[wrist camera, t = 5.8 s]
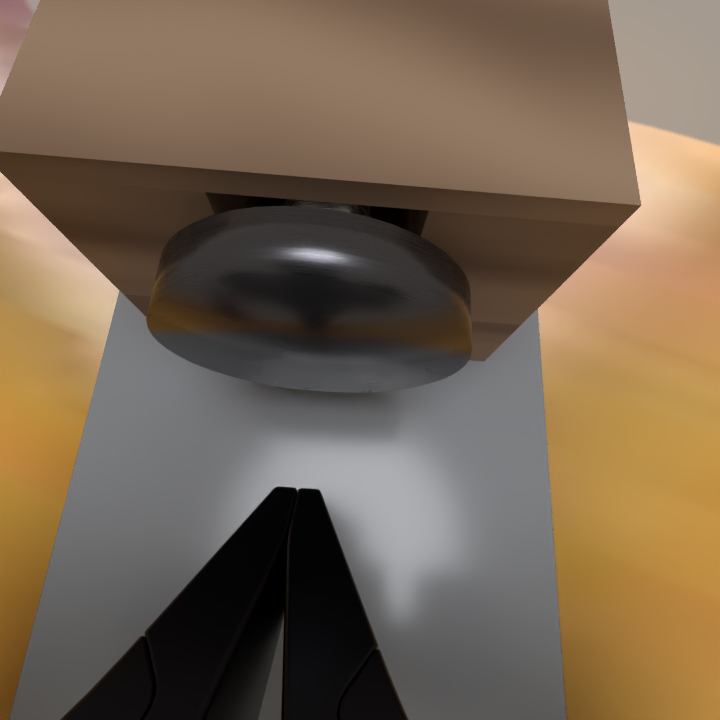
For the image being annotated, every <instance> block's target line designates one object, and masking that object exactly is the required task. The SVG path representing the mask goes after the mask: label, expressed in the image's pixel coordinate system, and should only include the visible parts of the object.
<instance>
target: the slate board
mask: <svg viewBox="0 0 720 720" xmlns="http://www.w3.org/2000/svg"><path fill="white" fill-rule="evenodd" d="M278 486H281V487H294V488H296V489H297V491H298V490H299V489H300V488H311V489H319V490H320V491H321V493H322V496H323V499H324V501H325V504H326V507H327V509H328V512H329V515H330V517H331V520H332V523H333V525H334V528H335V531H336V533H337V536H338V539H339V541H340V544H341V547H342V549H343V552H344V555H345V557H346V560H347V563H348V565H349V568H350V571H351V573H352V576H353V579H354V581H355V584H356V587H357V589H358V592H359V595H360V597H361V600H362V603H363V605H364V608H365V611H366V613H367V616H368V619H369V621H370V624H371V627H372V629H373V632H374V635H375V637H376V640H377V643H378V649H380V650H381V653H382V655H383V658H384V661H385V663H386V666H387V669H388V671H389V674H390V676H391V679H392V681H393V684H394V686H395V689H396V691H397V693H398V696H399V698H400V701H401V703H402V706H403V708H404V710H405V712H406V715H407V717H408V719H409V720H566V707H565V693H564V679H563V664H562V650H561V636H560V622H559V607H558V593H557V579H556V565H555V550H554V536H553V522H552V508H551V493H550V479H549V465H548V451H547V437H546V422H545V408H544V394H543V380H542V365H541V351H540V337H539V323H538V309H537V310H536V311H535V312H534V313H533V314H532V315H531V316H530V317H529V318H528V319H527V320H526V321H525V322H524V323H523V324H522V325H521V326H520V327H519V328H518V329H517V330H516V331H515V332H514V333H513V334H512V335H511V336H510V337H509V338H508V339H507V340H506V341H505V342H503V343H502V344H501V345H500V346H499V347H498V348H497V349H496V350H495V351H494V352H493V353H492V354H491V355H490V356H489V357H488V358H487V359H486V360H485V361H472V360H469V361H468V362H467V364H466V365H465V366H464V367H463V368H462V369H461V370H459V371H458V372H456V373H454V374H453V375H451V376H449V377H447V378H444V379H442V380H439V381H436V382H433V383H430V384H426V385H422V386H418V387H413V388H407V389H400V390H393V391H381V392H360V393H344V392H320V391H309V390H299V389H291V388H284V387H277V386H271V385H266V384H260V383H256V382H251V381H247V380H242V379H239V378H235V377H231V376H228V375H224V374H221V373H218V372H215V371H212V370H209V369H206V368H204V367H201V366H199V365H196V364H194V363H192V362H189V361H187V360H185V359H183V358H181V357H179V356H178V355H176V354H174V353H173V352H171V351H169V350H168V349H166V348H165V347H164V346H163V345H161V344H160V343H159V342H158V341H157V340H156V339H155V338H154V337H153V336H152V334H151V333H150V331H149V329H148V327H147V321H146V316H145V315H144V314H143V313H142V312H141V311H140V310H139V309H138V308H137V307H136V306H135V305H134V304H133V303H132V302H131V301H130V300H129V299H128V298H127V297H126V296H125V295H124V294H123V293H122V292H121V291H119V295H118V299H117V303H116V306H115V310H114V314H113V318H112V322H111V326H110V330H109V334H108V337H107V341H106V345H105V349H104V353H103V357H102V361H101V365H100V368H99V372H98V376H97V380H96V384H95V388H94V392H93V396H92V400H91V403H90V407H89V411H88V415H87V419H86V423H85V427H84V431H83V434H82V438H81V442H80V446H79V450H78V454H77V458H76V462H75V466H74V469H73V473H72V477H71V481H70V485H69V489H68V493H67V497H66V500H65V504H64V508H63V512H62V516H61V520H60V524H59V528H58V531H57V535H56V539H55V543H54V547H53V551H52V555H51V559H50V563H49V566H48V570H47V574H46V578H45V582H44V586H43V590H42V594H41V597H40V601H39V605H38V609H37V613H36V617H35V621H34V625H33V628H32V632H31V636H30V640H29V644H28V648H27V652H26V656H25V660H24V663H23V667H22V671H21V675H20V679H19V683H18V687H17V691H16V694H15V698H14V702H13V706H12V710H11V714H10V718H9V720H60V719H61V718H62V717H63V716H64V715H65V714H66V713H67V712H68V711H69V710H70V709H71V708H72V707H73V706H74V705H75V704H76V703H77V702H78V701H80V700H81V699H82V698H83V697H84V696H85V695H86V694H87V693H88V692H89V691H90V690H91V689H92V688H93V686H94V685H95V684H96V683H97V682H98V681H99V680H100V679H101V678H102V677H103V676H104V675H105V674H106V673H107V672H108V671H109V670H110V668H111V667H112V666H113V665H114V664H115V663H116V662H117V661H118V660H119V659H120V658H121V657H122V656H123V655H124V653H125V652H126V651H127V650H128V649H129V648H130V647H131V646H132V645H133V643H134V642H135V641H136V640H137V639H138V638H139V637H140V636H145V634H144V633H145V631H146V629H147V628H148V627H149V626H150V625H151V624H152V623H153V622H154V621H155V619H156V618H157V617H158V616H159V615H160V614H161V613H162V612H163V611H164V609H165V608H166V607H167V606H168V605H169V604H170V603H171V602H172V601H173V600H174V598H175V597H176V596H177V595H178V594H179V593H180V592H181V591H182V590H183V588H184V587H185V586H186V585H187V584H188V583H189V582H190V581H191V580H192V578H193V577H194V576H195V575H196V574H197V573H198V572H199V571H200V570H201V569H202V567H203V566H204V565H205V564H206V563H207V562H208V561H209V560H210V559H211V557H212V556H213V555H214V554H215V553H216V552H217V551H218V550H219V549H220V548H221V546H222V545H223V544H224V543H225V542H226V541H227V540H228V539H229V538H230V536H231V535H232V534H233V533H234V532H235V531H236V530H237V529H238V528H239V526H240V525H241V524H242V523H243V522H244V521H245V520H246V519H247V518H248V517H249V515H250V514H251V513H252V512H253V511H254V510H255V509H256V508H257V507H258V505H259V504H260V503H261V502H262V501H263V500H264V499H265V498H266V497H267V495H268V494H269V493H270V492H271V491H272V490H273V489H274V488H275V487H278ZM283 634H284V619H283V623H282V627H281V631H280V635H279V639H278V643H277V647H276V651H275V655H274V659H273V663H272V667H271V671H270V675H269V679H268V683H267V687H266V690H265V694H264V698H263V702H262V706H261V710H260V714H259V718H258V720H281V706H282V670H283Z"/></svg>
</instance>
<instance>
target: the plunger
mask: <svg viewBox="0 0 720 720" xmlns="http://www.w3.org/2000/svg"><path fill="white" fill-rule="evenodd" d="M370 215H371V206H366V205H354V204H342V203H330V202H318V201H306V200H294V199H285V204H284V206H265V207H252V208H245V209H238V210H231V211H227V212H223V213H219V214H215V215H211V216H208V217H206V218H203V219H201V220H198V221H196V222H193V223H191V224H190V225H188V226H186V227H185V228H183V229H181V230H180V231H178V232H177V233H176V234H175V235H174V236H173V237H172V238H171V239H170V240H169V241H168V242H167V244H166V245H165V247H164V248H163V250H162V253H161V257H160V261H159V266H158V270H157V274H156V279H155V283H154V287H153V291H152V296H151V300H150V304H149V309H148V313H147V317H146V321H147V327H148V329H149V331H150V333H151V334H152V336H153V337H154V338H155V339H156V340H157V341H158V342H159V343H160V344H161V345H163V346H164V347H165V348H166V349H168V350H169V351H171V352H173V353H174V354H176V355H178V356H179V357H181V358H183V359H185V360H187V361H189V362H192V363H194V364H196V365H199V366H201V367H204V368H206V369H209V370H212V371H215V372H218V373H221V374H224V375H228V376H231V377H235V378H239V379H242V380H247V381H251V382H256V383H260V384H266V385H271V386H277V387H284V388H291V389H299V390H309V391H320V392H344V393H360V392H381V391H393V390H400V389H407V388H413V387H418V386H422V385H426V384H430V383H433V382H436V381H439V380H442V379H444V378H447V377H449V376H451V375H453V374H454V373H456V372H458V371H459V370H461V369H462V368H463V367H464V366H465V365H466V364H467V362H468V361H469V359H470V357H471V353H472V322H471V291H470V284H469V282H468V279H467V277H466V274H465V273H464V272H463V270H462V269H461V267H460V266H459V265H458V263H456V262H455V261H454V260H453V259H452V258H451V257H450V256H449V255H448V254H447V253H446V252H444V251H443V250H442V249H440V248H439V247H437V246H436V245H434V244H433V243H432V242H430V241H428V240H426V239H424V238H422V237H420V236H418V235H417V234H415V233H413V232H410V231H408V230H405V229H403V228H400V227H398V226H395V225H393V224H390V223H387V222H384V221H380V220H377V219H374V218H370Z"/></svg>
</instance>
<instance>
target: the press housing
mask: <svg viewBox="0 0 720 720" xmlns="http://www.w3.org/2000/svg"><path fill="white" fill-rule="evenodd" d="M0 172H1V173H2V174H3V175H4V176H5V177H6V178H7V179H8V180H9V181H10V182H11V183H12V184H13V185H14V186H15V187H16V188H17V189H18V190H19V191H20V192H21V193H22V194H23V195H24V196H25V197H26V198H27V199H28V200H29V201H30V202H31V203H32V204H33V205H34V206H35V207H36V208H37V209H38V210H39V211H40V212H41V213H42V214H43V215H44V216H45V217H46V218H47V219H48V220H49V221H50V222H51V223H52V224H53V225H54V226H55V227H56V228H57V229H58V230H59V231H60V232H61V233H62V234H63V235H64V236H65V237H66V238H67V239H68V240H69V241H70V242H71V243H72V244H73V245H74V246H75V247H76V248H77V249H78V250H79V251H80V252H81V253H82V254H83V255H84V256H85V257H86V258H87V259H88V260H89V261H90V262H91V263H92V264H93V265H94V266H95V267H96V268H97V269H98V270H99V271H100V272H101V273H102V274H103V275H104V276H105V277H106V278H108V279H109V280H110V281H111V282H112V283H113V284H114V285H115V286H116V287H117V288H118V289H119V290H120V291H121V292H122V293H123V294H124V295H125V296H126V297H127V298H128V299H129V300H130V301H131V302H132V303H133V304H134V305H135V306H136V307H137V308H138V309H139V310H140V311H141V312H142V313H143V314H144V315H145V316H146V317H147V313H148V309H149V304H150V300H151V296H152V291H153V287H154V283H155V279H156V274H157V270H158V266H159V261H160V257H161V253H162V250H163V248H164V247H165V245H166V244H167V242H168V241H169V240H170V239H171V238H172V237H173V236H174V235H175V234H176V233H177V232H178V231H180V230H181V229H183V228H185V227H186V226H188V225H190V224H191V223H193V222H196V221H198V220H201V219H203V218H206V217H208V216H211V215H215V214H219V213H223V212H227V211H231V210H238V209H245V208H252V207H265V206H284V204H285V199H294V200H306V201H318V202H330V203H342V204H354V205H366V206H371V215H370V218H374V219H377V220H380V221H384V222H387V223H390V224H393V225H395V226H398V227H400V228H403V229H405V230H408V231H410V232H413V233H415V234H417V235H418V236H420V237H422V238H424V239H426V240H428V241H430V242H432V243H433V244H434V245H436V246H437V247H439V248H440V249H442V250H443V251H444V252H446V253H447V254H448V255H449V256H450V257H451V258H452V259H453V260H454V261H455V262H456V263H458V265H459V266H460V267H461V269H462V270H463V272H464V273H465V274H466V277H467V279H468V282H469V284H470V291H471V322H472V353H471V357H470V359H469V360H472V361H485V360H486V359H487V358H488V357H489V356H490V355H491V354H492V353H493V352H494V351H495V350H496V349H497V348H498V347H499V346H500V345H501V344H502V343H503V342H505V341H506V340H507V339H508V338H509V337H510V336H511V335H512V334H513V333H514V332H515V331H516V330H517V329H518V328H519V327H520V326H521V325H522V324H523V323H524V322H525V321H526V320H527V319H528V318H529V317H530V316H531V315H532V314H533V313H534V312H535V311H536V310H537V309H538V308H539V307H540V306H541V305H542V304H543V303H544V302H545V301H546V300H547V299H548V298H549V297H550V296H551V295H552V294H553V293H554V292H555V291H556V290H557V289H558V288H559V287H560V286H561V285H562V284H563V283H564V282H565V281H566V280H567V279H568V278H569V277H570V276H571V275H572V274H573V273H574V272H575V271H576V270H577V269H578V268H579V267H580V266H581V265H582V264H583V263H584V262H585V261H586V260H587V259H588V258H589V257H590V256H591V255H592V254H593V253H594V252H595V251H596V250H597V249H598V248H599V247H600V246H601V245H602V244H603V243H604V242H605V241H606V240H607V239H608V238H609V237H610V236H611V235H612V234H613V233H614V232H615V231H616V230H617V229H618V228H619V227H620V226H621V225H622V224H623V223H624V222H625V221H626V220H627V219H628V218H629V217H630V216H631V215H632V214H633V213H634V212H635V211H636V210H637V209H638V208H639V207H640V206H641V201H640V195H639V189H638V183H637V177H636V170H635V164H634V158H633V152H632V146H631V140H630V134H629V128H628V122H627V116H626V109H625V103H624V97H623V91H622V85H621V79H620V73H619V67H618V61H617V55H616V48H615V42H614V36H613V30H612V25H611V18H610V12H609V6H608V0H40V2H39V5H38V7H37V10H36V12H35V14H34V17H33V19H32V21H31V24H30V26H29V29H28V31H27V33H26V36H25V38H24V41H23V43H22V46H21V48H20V50H19V53H18V55H17V58H16V60H15V62H14V65H13V67H12V70H11V72H10V74H9V77H8V79H7V82H6V84H5V87H4V89H3V91H2V94H1V96H0Z"/></svg>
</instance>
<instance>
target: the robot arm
mask: <svg viewBox="0 0 720 720" xmlns="http://www.w3.org/2000/svg"><path fill="white" fill-rule="evenodd" d="M283 619H284V634H283V670H282V706H281V720H409V719H408V717H407V715H406V712H405V710H404V708H403V706H402V703H401V701H400V698H399V696H398V693H397V691H396V689H395V686H394V684H393V681H392V679H391V676H390V674H389V671H388V669H387V666H386V663H385V661H384V658H383V655H382V653H381V650H380V649H378V643H377V640H376V637H375V635H374V632H373V629H372V627H371V624H370V621H369V619H368V616H367V613H366V611H365V608H364V605H363V603H362V600H361V597H360V595H359V592H358V589H357V587H356V584H355V581H354V579H353V576H352V573H351V571H350V568H349V565H348V563H347V560H346V557H345V555H344V552H343V549H342V547H341V544H340V541H339V539H338V536H337V533H336V531H335V528H334V525H333V523H332V520H331V517H330V515H329V512H328V509H327V507H326V504H325V501H324V499H323V496H322V493H321V491H320V490H319V489H311V488H300V489H299V490H298V491H297V489H296V488H294V487H281V486H278V487H275V488H274V489H273V490H272V491H271V492H270V493H269V494H268V495H267V497H266V498H265V499H264V500H263V501H262V502H261V503H260V504H259V505H258V507H257V508H256V509H255V510H254V511H253V512H252V513H251V514H250V515H249V517H248V518H247V519H246V520H245V521H244V522H243V523H242V524H241V525H240V526H239V528H238V529H237V530H236V531H235V532H234V533H233V534H232V535H231V536H230V538H229V539H228V540H227V541H226V542H225V543H224V544H223V545H222V546H221V548H220V549H219V550H218V551H217V552H216V553H215V554H214V555H213V556H212V557H211V559H210V560H209V561H208V562H207V563H206V564H205V565H204V566H203V567H202V569H201V570H200V571H199V572H198V573H197V574H196V575H195V576H194V577H193V578H192V580H191V581H190V582H189V583H188V584H187V585H186V586H185V587H184V588H183V590H182V591H181V592H180V593H179V594H178V595H177V596H176V597H175V598H174V600H173V601H172V602H171V603H170V604H169V605H168V606H167V607H166V608H165V609H164V611H163V612H162V613H161V614H160V615H159V616H158V617H157V618H156V619H155V621H154V622H153V623H152V624H151V625H150V626H149V627H148V628H147V629H146V631H145V633H144V634H145V636H140V637H139V638H138V639H137V640H136V641H135V642H134V643H133V645H132V646H131V647H130V648H129V649H128V650H127V651H126V652H125V653H124V655H123V656H122V657H121V658H120V659H119V660H118V661H117V662H116V663H115V664H114V665H113V666H112V667H111V668H110V670H109V671H108V672H107V673H106V674H105V675H104V676H103V677H102V678H101V679H100V680H99V681H98V682H97V683H96V684H95V685H94V686H93V688H92V689H91V690H90V691H89V692H88V693H87V694H86V695H85V696H84V697H83V698H82V699H81V700H80V701H78V702H77V703H76V704H75V705H74V706H73V707H72V708H71V709H70V710H69V711H68V712H67V713H66V714H65V715H64V716H63V717H62V718H61V719H60V720H258V718H259V714H260V710H261V706H262V702H263V698H264V694H265V690H266V687H267V683H268V679H269V675H270V671H271V667H272V663H273V659H274V655H275V651H276V647H277V643H278V639H279V635H280V631H281V627H282V623H283Z"/></svg>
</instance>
